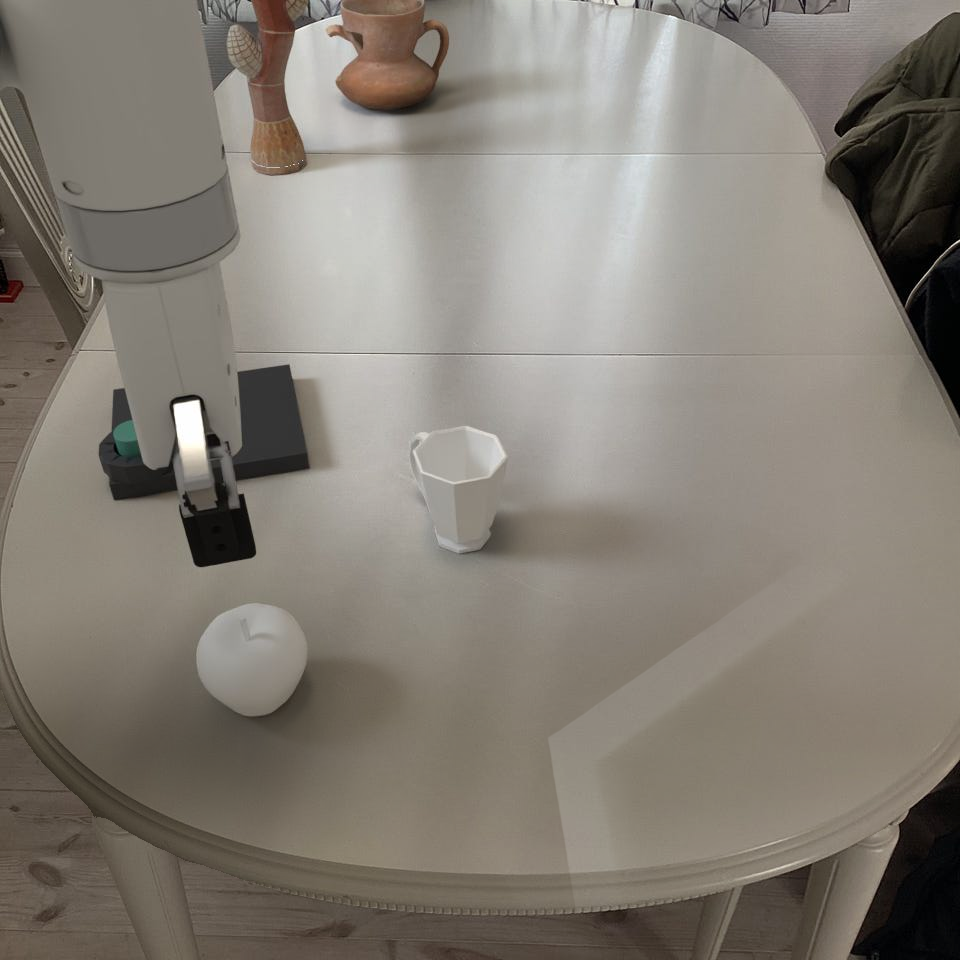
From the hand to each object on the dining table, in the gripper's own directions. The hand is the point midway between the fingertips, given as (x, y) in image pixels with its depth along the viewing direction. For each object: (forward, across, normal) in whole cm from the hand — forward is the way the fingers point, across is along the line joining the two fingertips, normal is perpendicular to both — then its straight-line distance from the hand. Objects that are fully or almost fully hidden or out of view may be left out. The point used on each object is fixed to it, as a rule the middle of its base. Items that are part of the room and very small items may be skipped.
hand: (221, 500), depth 57 cm
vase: (+17, -89, +10) cm, 91 cm away
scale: (+17, -30, -2) cm, 34 cm away
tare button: (+14, -25, -8) cm, 30 cm away
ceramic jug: (+17, -109, +28) cm, 114 cm away
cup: (+17, -13, +16) cm, 27 cm away
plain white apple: (+17, 0, 0) cm, 17 cm away
